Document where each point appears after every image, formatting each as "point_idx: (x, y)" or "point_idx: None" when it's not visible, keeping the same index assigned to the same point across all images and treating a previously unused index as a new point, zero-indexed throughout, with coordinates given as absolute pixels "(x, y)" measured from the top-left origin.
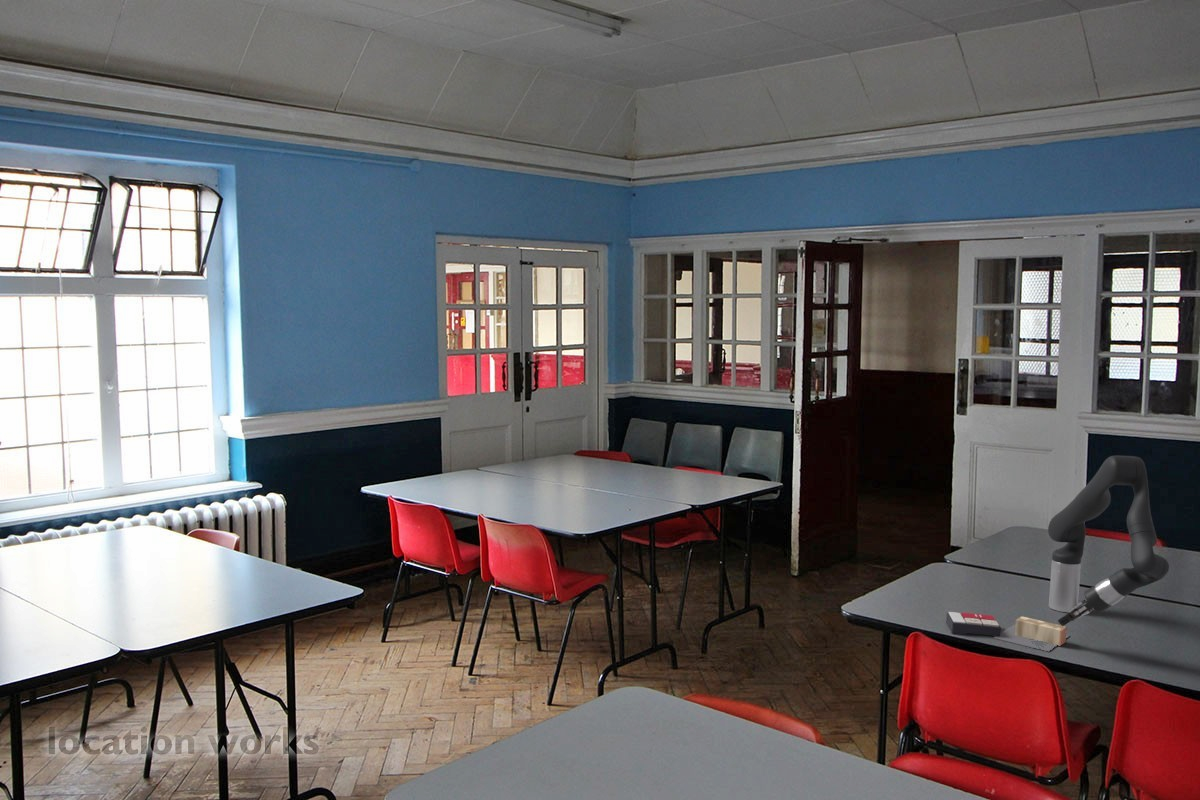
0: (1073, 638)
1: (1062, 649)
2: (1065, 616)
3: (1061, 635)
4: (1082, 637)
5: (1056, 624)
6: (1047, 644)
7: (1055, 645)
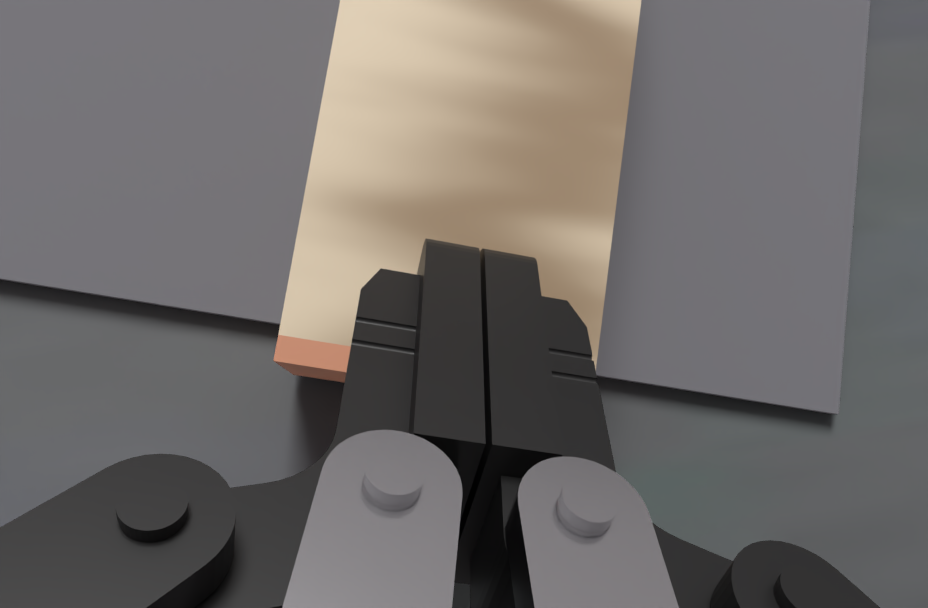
0: (775, 470)
1: (204, 419)
2: (409, 399)
3: (304, 369)
4: (890, 565)
5: (610, 223)
6: (252, 208)
7: (275, 311)
